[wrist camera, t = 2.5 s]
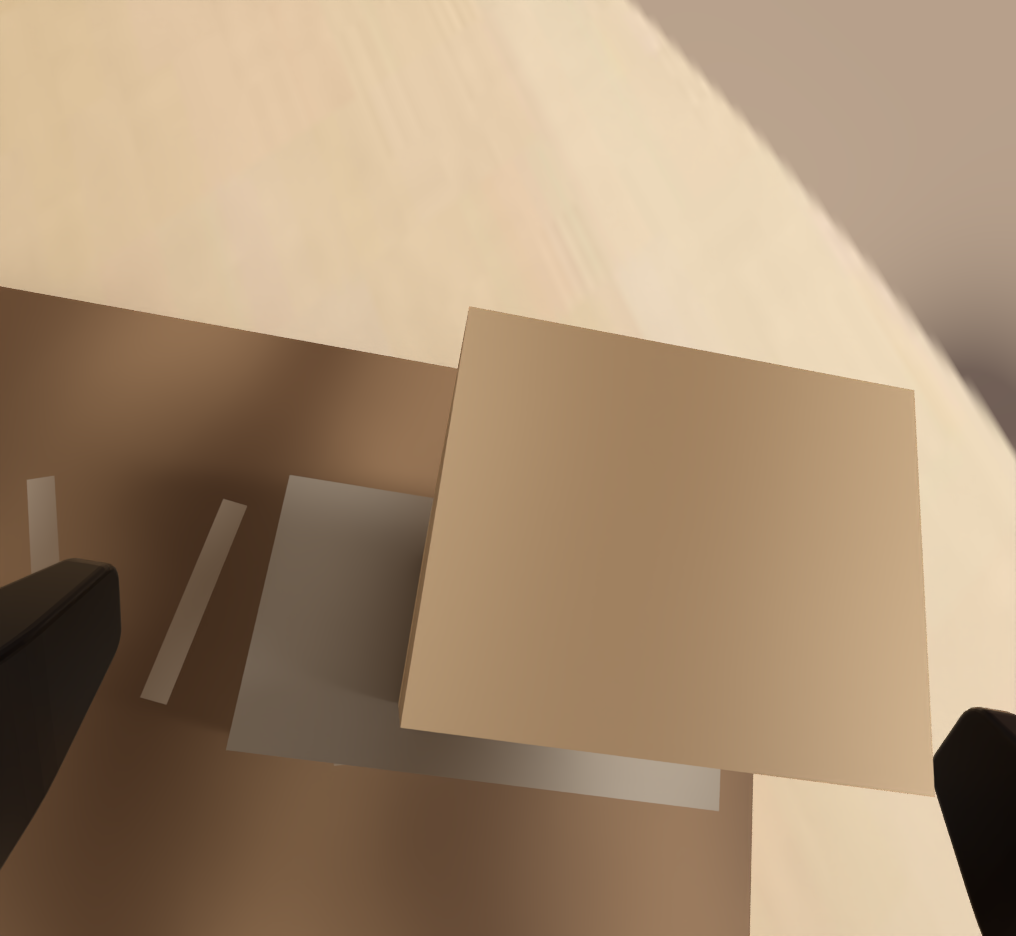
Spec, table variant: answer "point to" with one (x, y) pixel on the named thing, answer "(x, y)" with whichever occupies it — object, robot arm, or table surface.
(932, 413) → the table surface
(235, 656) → the walnut board
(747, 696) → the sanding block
